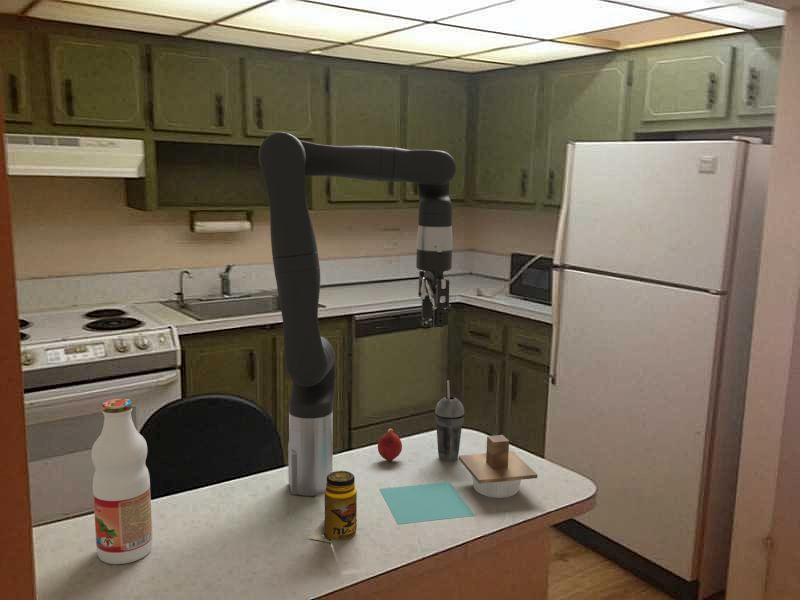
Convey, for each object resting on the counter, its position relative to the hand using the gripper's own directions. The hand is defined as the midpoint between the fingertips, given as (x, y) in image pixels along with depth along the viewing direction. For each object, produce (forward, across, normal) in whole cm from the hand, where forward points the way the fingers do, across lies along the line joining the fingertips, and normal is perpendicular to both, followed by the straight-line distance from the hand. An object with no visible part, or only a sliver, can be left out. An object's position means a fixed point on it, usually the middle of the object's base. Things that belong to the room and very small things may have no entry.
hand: (432, 322), depth 154 cm
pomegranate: (+36, -12, -6) cm, 39 cm away
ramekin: (+36, +8, +13) cm, 40 cm away
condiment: (+36, +19, -24) cm, 48 cm away
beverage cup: (+36, -10, +8) cm, 38 cm away
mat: (+36, +11, -4) cm, 38 cm away
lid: (+31, +8, +13) cm, 35 cm away
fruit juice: (+36, +17, -62) cm, 74 cm away
